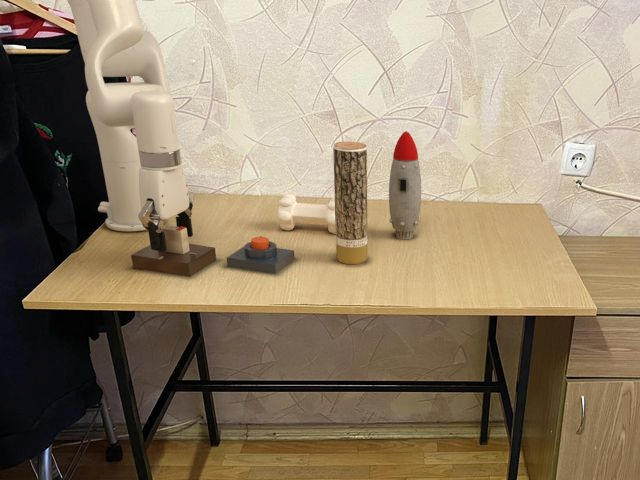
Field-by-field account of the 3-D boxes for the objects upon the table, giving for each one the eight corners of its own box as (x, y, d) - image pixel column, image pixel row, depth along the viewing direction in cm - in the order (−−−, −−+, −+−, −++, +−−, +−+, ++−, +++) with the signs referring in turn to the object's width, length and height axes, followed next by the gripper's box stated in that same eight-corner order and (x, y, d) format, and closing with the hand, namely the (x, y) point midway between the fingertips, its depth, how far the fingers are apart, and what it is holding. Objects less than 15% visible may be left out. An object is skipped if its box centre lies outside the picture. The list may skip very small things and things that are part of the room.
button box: (227, 267, 150) (225, 249, 149) (248, 253, 158) (247, 235, 156) (275, 274, 149) (274, 256, 147) (294, 259, 156) (293, 242, 154)
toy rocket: (386, 241, 170) (386, 133, 158) (391, 230, 177) (391, 126, 165) (418, 243, 170) (420, 136, 158) (421, 232, 177) (424, 128, 165)
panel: (132, 268, 147) (130, 254, 145) (162, 252, 156) (160, 238, 154) (189, 277, 145) (187, 263, 143) (216, 260, 153) (215, 246, 152)
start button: (248, 249, 150) (247, 241, 150) (256, 243, 154) (256, 235, 153) (264, 251, 150) (263, 243, 149) (272, 245, 153) (271, 237, 152)
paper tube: (372, 257, 160) (372, 144, 148) (359, 267, 154) (357, 150, 143) (345, 252, 162) (342, 140, 150) (330, 262, 156) (327, 146, 144)
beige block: (157, 250, 148) (153, 226, 146) (163, 247, 150) (160, 223, 148) (183, 254, 147) (180, 230, 145) (189, 250, 149) (186, 226, 147)
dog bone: (346, 226, 178) (346, 194, 174) (339, 238, 170) (339, 204, 166) (286, 222, 178) (284, 190, 174) (277, 233, 170) (274, 200, 166)
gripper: (169, 147, 148) (180, 228, 156) (114, 166, 133) (129, 254, 141) (202, 151, 147) (211, 232, 155) (150, 170, 132) (164, 259, 140)
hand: (172, 242), depth 148 cm, fingers open, 8 cm apart
